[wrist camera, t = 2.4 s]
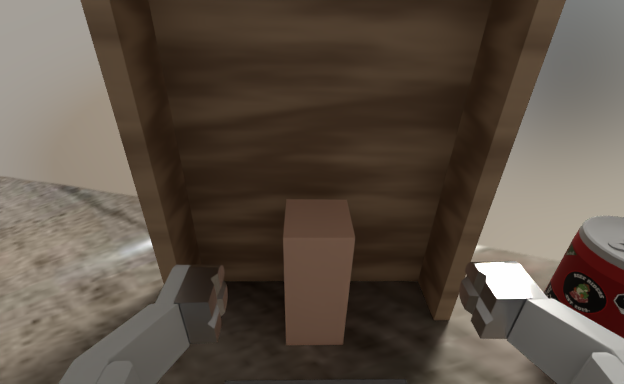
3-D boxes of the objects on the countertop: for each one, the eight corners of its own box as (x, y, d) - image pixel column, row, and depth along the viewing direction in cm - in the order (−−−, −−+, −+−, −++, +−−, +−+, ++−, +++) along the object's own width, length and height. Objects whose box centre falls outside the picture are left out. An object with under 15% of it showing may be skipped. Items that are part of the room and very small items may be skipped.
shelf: (478, 383, 26) (1019, -672, 6) (148, 387, 25) (-361, -811, 6) (425, 268, 37) (566, -247, 18) (196, 267, 36) (80, -273, 17)
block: (342, 344, 29) (355, 237, 22) (286, 345, 28) (283, 237, 22) (337, 299, 33) (346, 199, 27) (288, 299, 33) (286, 199, 27)
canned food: (513, 311, 32) (559, 221, 27) (575, 296, 34) (630, 209, 28) (587, 388, 26) (668, 291, 20) (659, 364, 28) (751, 270, 22)
